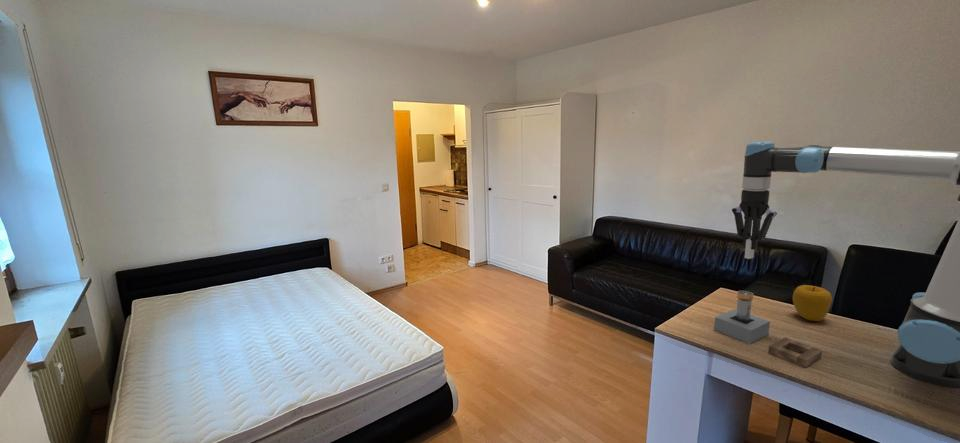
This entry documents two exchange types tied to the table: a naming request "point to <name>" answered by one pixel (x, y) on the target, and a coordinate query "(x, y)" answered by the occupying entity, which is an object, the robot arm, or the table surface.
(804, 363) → the mount
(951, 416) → the table surface
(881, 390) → the table surface
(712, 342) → the table surface
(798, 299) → the apple
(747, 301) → the pin
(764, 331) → the socket
